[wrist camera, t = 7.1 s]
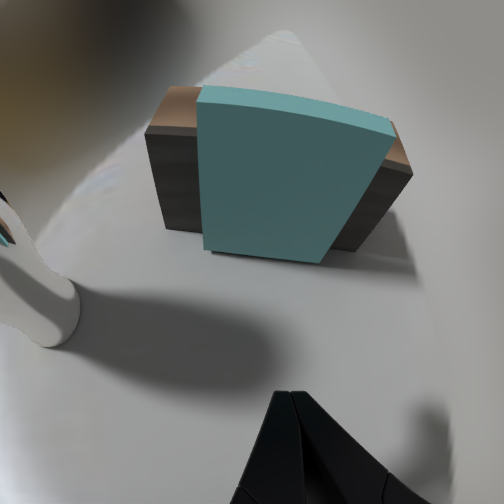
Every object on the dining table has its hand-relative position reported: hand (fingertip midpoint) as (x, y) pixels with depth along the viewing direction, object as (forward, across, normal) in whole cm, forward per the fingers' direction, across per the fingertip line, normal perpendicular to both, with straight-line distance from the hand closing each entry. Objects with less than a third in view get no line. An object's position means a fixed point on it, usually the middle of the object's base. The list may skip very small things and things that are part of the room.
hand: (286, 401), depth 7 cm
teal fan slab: (+19, -1, -2) cm, 19 cm away
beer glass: (+12, +16, +6) cm, 21 cm away
